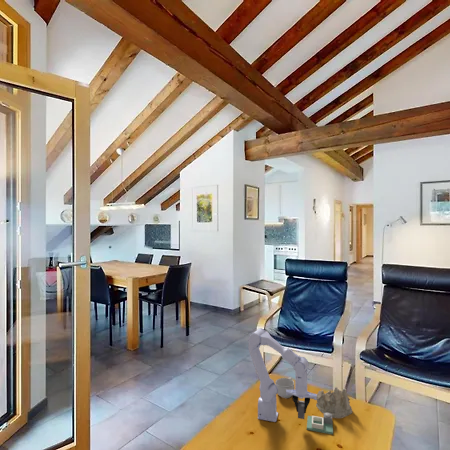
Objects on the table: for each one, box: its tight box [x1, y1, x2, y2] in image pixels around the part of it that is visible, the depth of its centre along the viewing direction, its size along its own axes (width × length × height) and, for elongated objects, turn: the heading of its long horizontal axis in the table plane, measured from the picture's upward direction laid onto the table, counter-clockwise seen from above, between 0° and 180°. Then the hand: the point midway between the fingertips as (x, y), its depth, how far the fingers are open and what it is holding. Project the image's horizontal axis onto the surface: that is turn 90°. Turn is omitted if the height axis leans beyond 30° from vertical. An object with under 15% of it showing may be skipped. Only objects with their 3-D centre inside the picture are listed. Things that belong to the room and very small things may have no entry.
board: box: [306, 413, 334, 435], centre depth 154 cm, size 12×10×4 cm
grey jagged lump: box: [315, 386, 353, 419], centre depth 168 cm, size 16×16×15 cm
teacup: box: [274, 376, 295, 399], centre depth 182 cm, size 14×11×8 cm
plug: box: [297, 399, 306, 420], centre depth 153 cm, size 3×4×7 cm
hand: (301, 411), depth 153 cm, fingers closed on plug, 3 cm apart
